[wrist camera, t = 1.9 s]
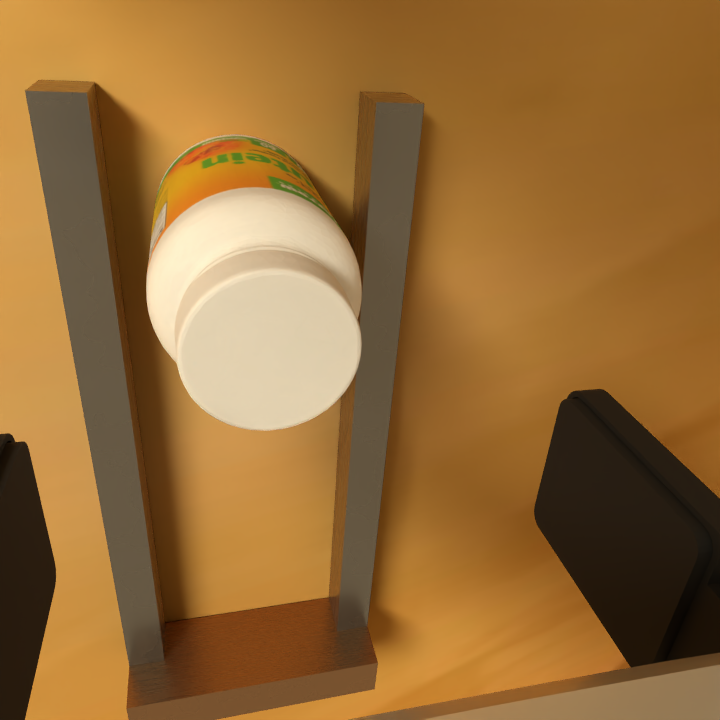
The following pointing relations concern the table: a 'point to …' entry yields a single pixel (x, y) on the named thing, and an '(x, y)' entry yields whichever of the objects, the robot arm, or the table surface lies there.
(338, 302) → the supplement bottle
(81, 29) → the table surface
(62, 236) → the u-shaped frame
